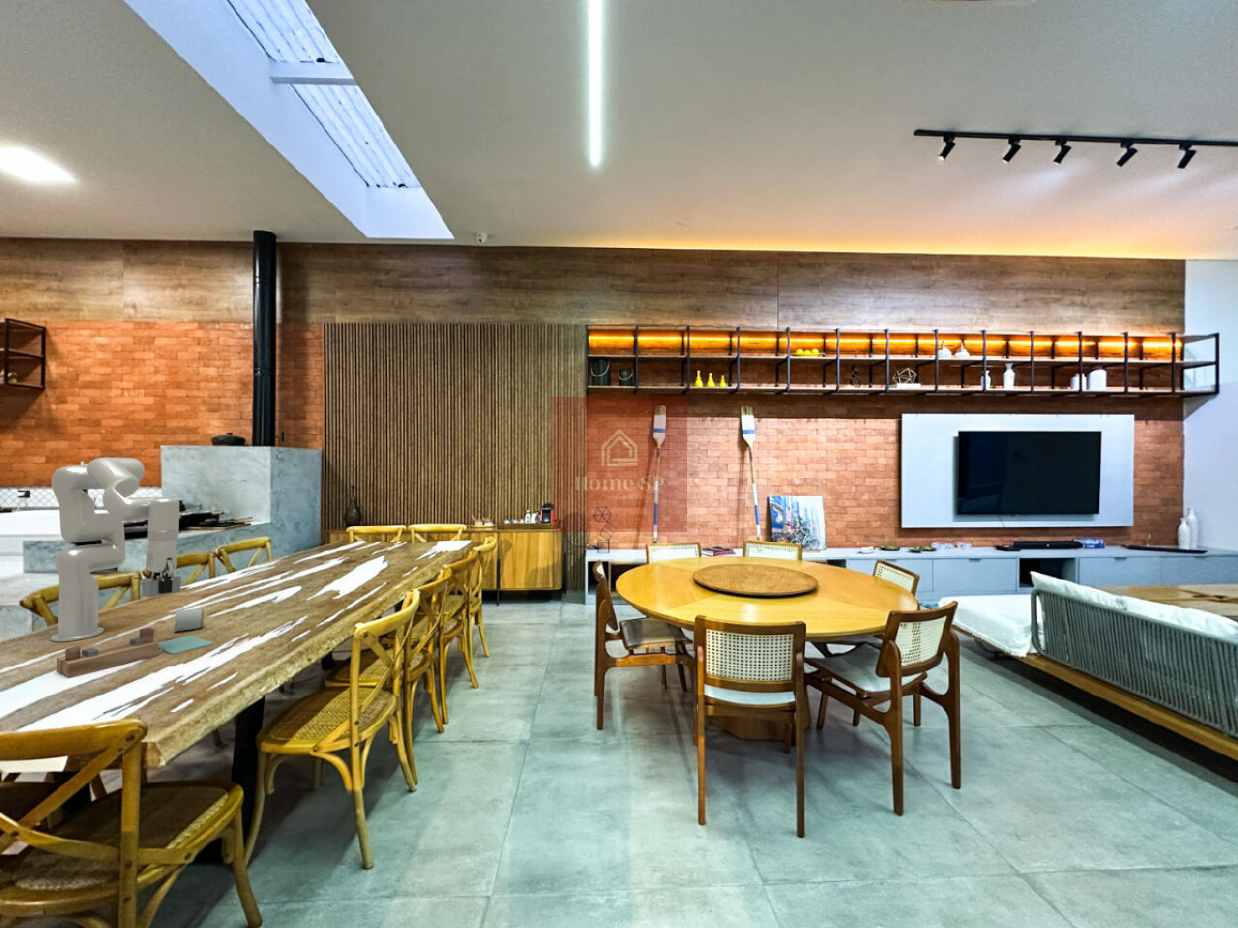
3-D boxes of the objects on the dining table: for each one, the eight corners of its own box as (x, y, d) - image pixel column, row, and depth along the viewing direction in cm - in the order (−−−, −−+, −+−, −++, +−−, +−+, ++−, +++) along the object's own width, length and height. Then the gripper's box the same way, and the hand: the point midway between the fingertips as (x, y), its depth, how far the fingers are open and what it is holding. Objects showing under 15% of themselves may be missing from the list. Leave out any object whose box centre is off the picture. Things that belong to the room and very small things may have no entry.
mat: (150, 646, 169) (150, 644, 169) (190, 636, 178) (190, 635, 178) (173, 654, 161) (173, 652, 161) (213, 644, 171) (213, 642, 171)
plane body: (56, 671, 147) (57, 644, 147) (145, 650, 165) (145, 625, 165) (68, 677, 143) (69, 649, 143) (158, 655, 161) (158, 630, 161)
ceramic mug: (204, 629, 186) (204, 608, 186) (174, 634, 181) (175, 612, 181) (202, 623, 194) (203, 603, 194) (174, 627, 189) (175, 606, 189)
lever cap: (142, 595, 163) (142, 576, 163) (173, 590, 170) (173, 572, 170) (148, 597, 160) (149, 578, 160) (180, 591, 167) (180, 574, 167)
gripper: (137, 535, 166) (135, 590, 166) (159, 539, 158) (158, 597, 158) (166, 532, 173) (164, 586, 172) (189, 536, 164) (187, 592, 164)
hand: (161, 591), depth 165 cm, fingers closed on lever cap, 5 cm apart
